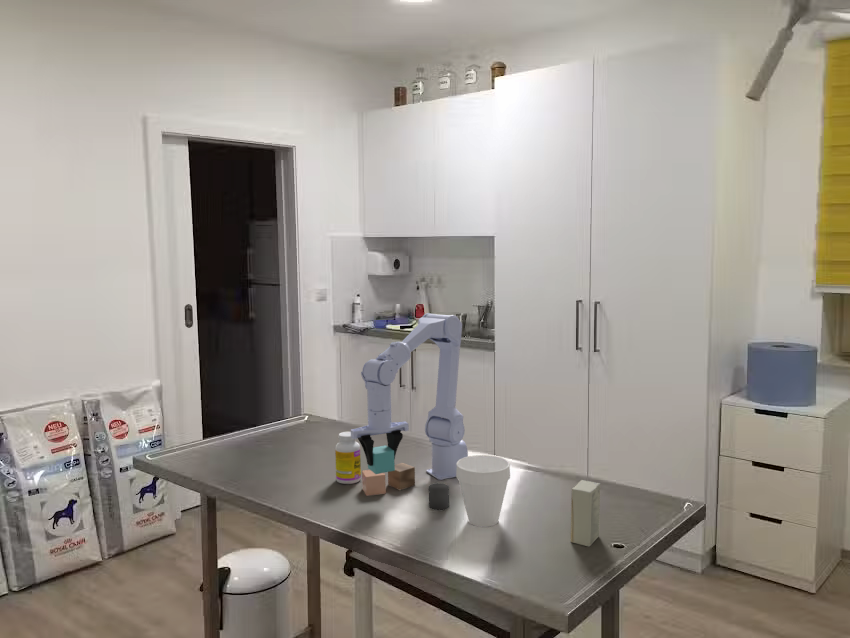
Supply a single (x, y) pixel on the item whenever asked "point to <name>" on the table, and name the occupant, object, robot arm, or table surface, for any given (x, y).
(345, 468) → the supplement bottle
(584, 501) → the skincare box
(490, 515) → the cup
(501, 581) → the table surface
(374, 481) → the terracotta cube
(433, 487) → the dark grey cylinder
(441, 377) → the robot arm
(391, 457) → the teal cube
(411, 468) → the walnut cube
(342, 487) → the table surface
